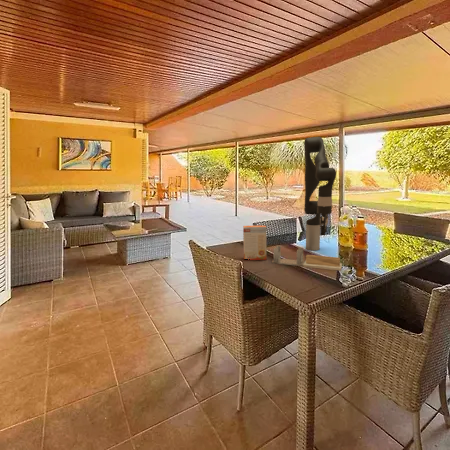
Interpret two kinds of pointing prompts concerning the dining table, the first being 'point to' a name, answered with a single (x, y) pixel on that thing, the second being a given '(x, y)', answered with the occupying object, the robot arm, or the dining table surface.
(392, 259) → the dining table surface
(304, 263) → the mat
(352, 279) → the dining table surface
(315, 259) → the rail
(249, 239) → the cracker box
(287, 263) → the standards
